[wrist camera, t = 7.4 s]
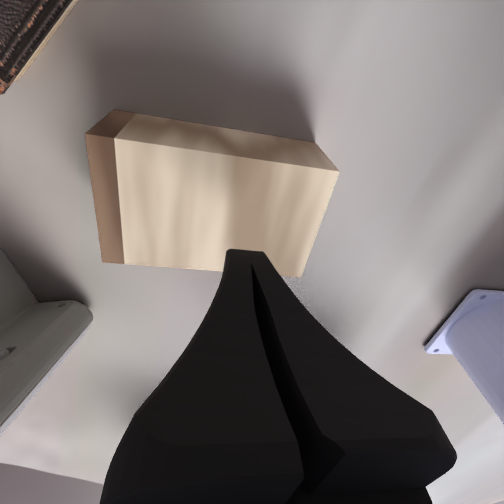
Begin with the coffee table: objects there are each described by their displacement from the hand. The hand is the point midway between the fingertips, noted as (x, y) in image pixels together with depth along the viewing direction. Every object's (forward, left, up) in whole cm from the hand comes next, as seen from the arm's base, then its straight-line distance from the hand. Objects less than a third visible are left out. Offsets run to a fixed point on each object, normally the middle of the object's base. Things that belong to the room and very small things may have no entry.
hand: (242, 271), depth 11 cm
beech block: (-4, 0, -6) cm, 7 cm away
